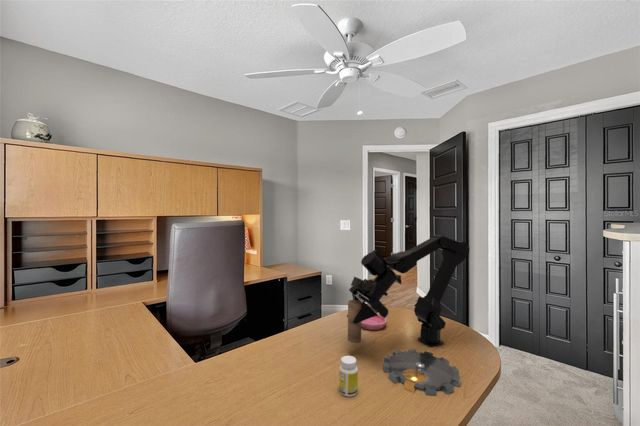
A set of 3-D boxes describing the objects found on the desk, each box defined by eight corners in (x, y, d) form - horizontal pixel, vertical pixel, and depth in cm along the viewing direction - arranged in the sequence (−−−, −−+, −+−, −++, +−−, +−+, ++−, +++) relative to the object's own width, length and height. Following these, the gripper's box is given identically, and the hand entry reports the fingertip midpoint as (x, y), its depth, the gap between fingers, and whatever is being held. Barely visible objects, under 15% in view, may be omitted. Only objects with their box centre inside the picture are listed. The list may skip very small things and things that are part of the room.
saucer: (384, 320, 123) (385, 313, 123) (388, 333, 111) (388, 325, 111) (355, 319, 125) (356, 311, 125) (356, 331, 112) (356, 323, 112)
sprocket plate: (420, 348, 98) (420, 342, 98) (477, 382, 79) (477, 374, 79) (369, 362, 89) (369, 354, 89) (419, 404, 70) (420, 395, 70)
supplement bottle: (359, 388, 76) (359, 356, 76) (355, 399, 72) (356, 365, 72) (341, 384, 78) (342, 353, 78) (337, 394, 73) (337, 362, 73)
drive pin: (356, 335, 97) (356, 299, 97) (363, 341, 93) (364, 303, 93) (345, 338, 95) (345, 301, 95) (352, 343, 91) (352, 305, 91)
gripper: (354, 263, 104) (325, 296, 101) (380, 274, 86) (345, 314, 83) (373, 283, 107) (345, 316, 103) (402, 298, 89) (369, 338, 86)
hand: (350, 320), depth 94 cm, fingers closed on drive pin, 4 cm apart
